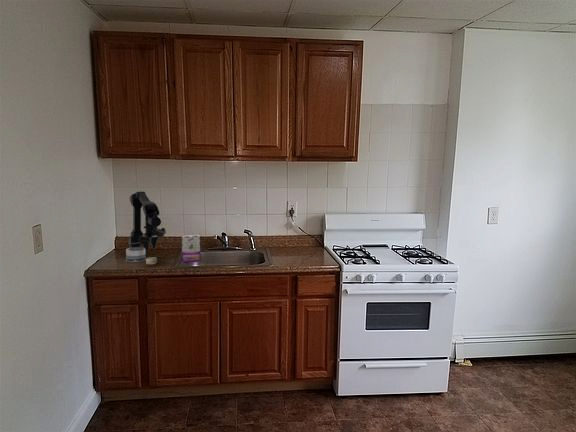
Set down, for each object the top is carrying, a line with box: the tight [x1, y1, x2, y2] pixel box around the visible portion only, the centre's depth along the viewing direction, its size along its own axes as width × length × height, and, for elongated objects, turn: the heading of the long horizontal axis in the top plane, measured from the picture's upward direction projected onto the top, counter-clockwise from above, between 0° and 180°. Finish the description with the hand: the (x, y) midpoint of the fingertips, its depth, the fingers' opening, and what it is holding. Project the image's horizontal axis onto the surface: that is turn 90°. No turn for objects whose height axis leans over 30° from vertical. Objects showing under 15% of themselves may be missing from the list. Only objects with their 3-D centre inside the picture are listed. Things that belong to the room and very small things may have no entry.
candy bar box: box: [181, 234, 202, 264], centre depth 232 cm, size 11×5×16 cm, turn 106°
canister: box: [125, 246, 147, 264], centre depth 232 cm, size 12×12×7 cm
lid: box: [145, 256, 158, 265], centre depth 227 cm, size 6×6×3 cm
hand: (150, 249), depth 226 cm, fingers open, 9 cm apart
